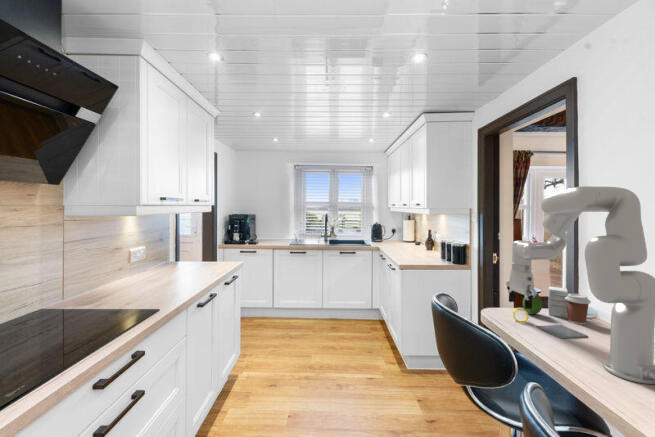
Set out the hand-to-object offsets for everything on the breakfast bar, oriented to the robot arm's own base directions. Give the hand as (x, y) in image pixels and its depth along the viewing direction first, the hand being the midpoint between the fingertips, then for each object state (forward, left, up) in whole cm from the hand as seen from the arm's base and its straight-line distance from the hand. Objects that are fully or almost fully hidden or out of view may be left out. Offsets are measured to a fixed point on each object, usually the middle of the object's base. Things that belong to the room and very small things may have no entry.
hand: (519, 305), depth 142 cm
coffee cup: (-5, -25, -7) cm, 26 cm away
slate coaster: (-15, -7, -7) cm, 18 cm away
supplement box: (+5, -25, -7) cm, 27 cm away
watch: (-1, 0, -7) cm, 7 cm away
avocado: (+7, -13, -7) cm, 17 cm away
